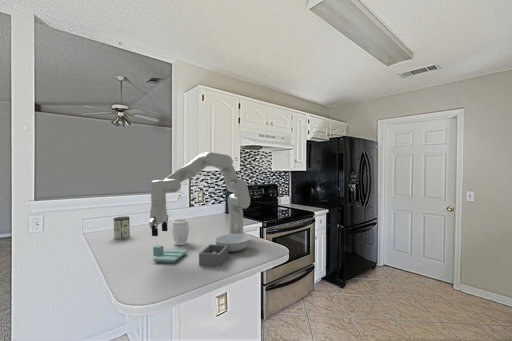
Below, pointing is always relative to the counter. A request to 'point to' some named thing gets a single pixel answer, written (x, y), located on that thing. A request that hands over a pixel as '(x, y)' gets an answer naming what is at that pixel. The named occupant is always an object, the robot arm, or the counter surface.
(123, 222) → the coffee can
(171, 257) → the lid
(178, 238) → the jar
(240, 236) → the serving bowl
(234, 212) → the robot arm
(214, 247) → the tub
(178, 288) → the counter surface
